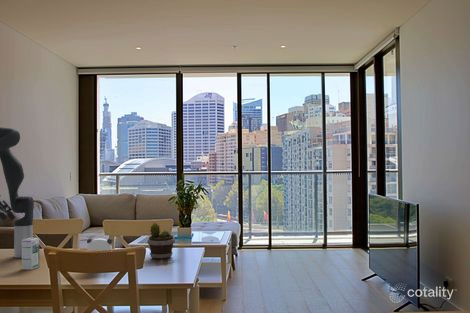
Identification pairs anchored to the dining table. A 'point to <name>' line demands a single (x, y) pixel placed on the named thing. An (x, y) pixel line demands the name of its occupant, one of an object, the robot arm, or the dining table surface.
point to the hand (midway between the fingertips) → (9, 219)
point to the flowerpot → (160, 243)
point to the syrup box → (30, 253)
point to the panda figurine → (99, 244)
